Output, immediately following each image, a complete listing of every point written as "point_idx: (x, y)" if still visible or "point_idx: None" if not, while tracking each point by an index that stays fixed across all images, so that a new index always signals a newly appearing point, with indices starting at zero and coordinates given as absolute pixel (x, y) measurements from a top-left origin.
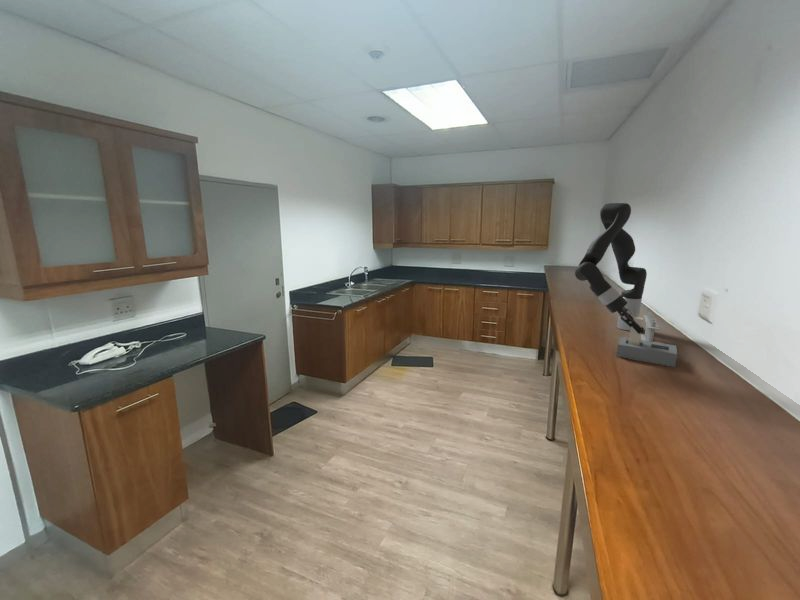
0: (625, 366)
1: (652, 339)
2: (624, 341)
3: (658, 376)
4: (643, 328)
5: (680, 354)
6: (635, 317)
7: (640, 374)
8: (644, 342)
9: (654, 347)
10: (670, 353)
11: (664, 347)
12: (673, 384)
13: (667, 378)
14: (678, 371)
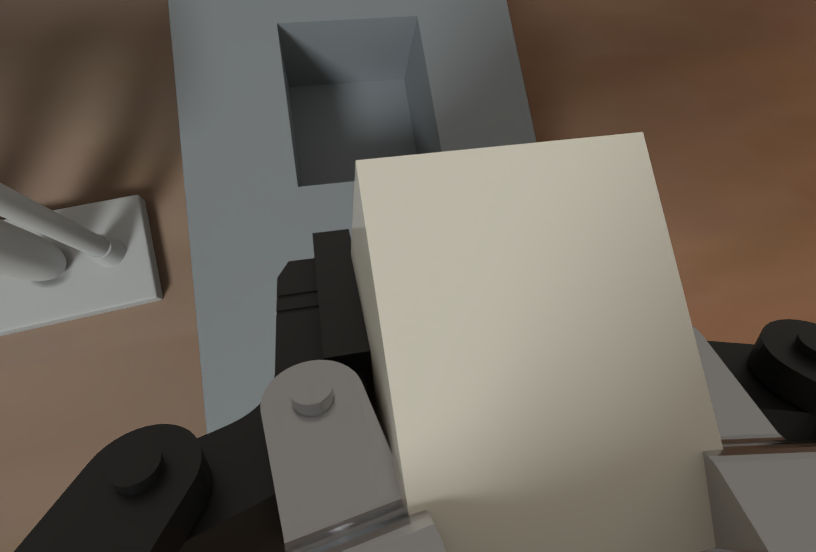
0: (723, 335)
1: (43, 206)
2: None
3: (732, 119)
4: (346, 233)
5: (51, 23)
6: (519, 443)
7: (791, 216)
8: (285, 261)
9: (296, 166)
10: (504, 3)
11: (283, 70)
12: (790, 38)
13: (722, 71)
14: (532, 22)
